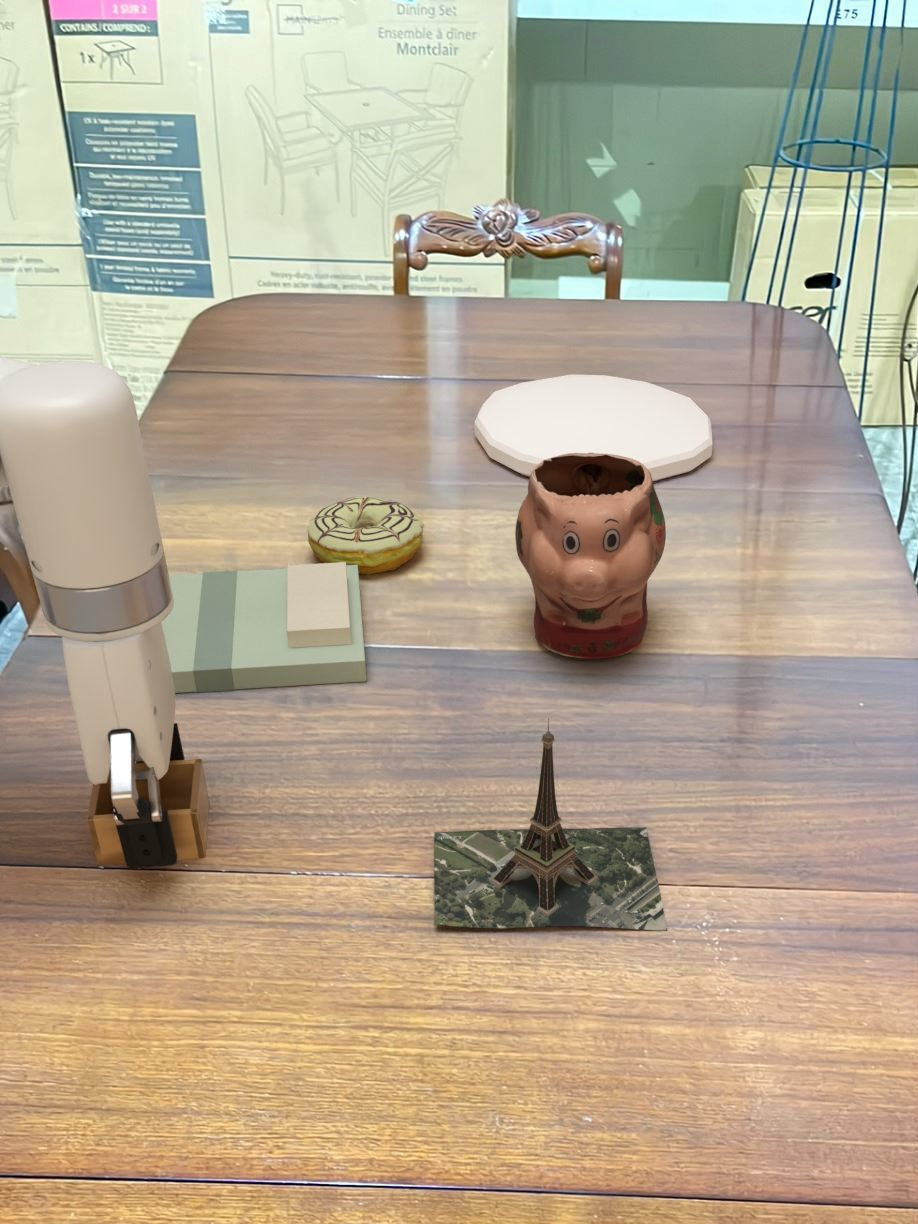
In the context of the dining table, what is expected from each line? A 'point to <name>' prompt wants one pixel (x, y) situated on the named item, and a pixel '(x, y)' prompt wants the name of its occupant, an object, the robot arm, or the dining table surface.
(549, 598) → the decorative planter
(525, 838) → the eiffel tower figurine
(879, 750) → the dining table surface
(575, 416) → the decorative plate
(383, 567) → the decorated donut
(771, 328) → the dining table surface
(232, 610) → the bed
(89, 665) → the robot arm
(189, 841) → the open wooden box
